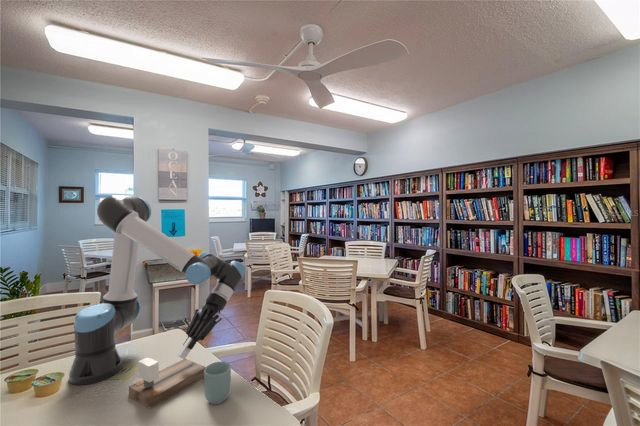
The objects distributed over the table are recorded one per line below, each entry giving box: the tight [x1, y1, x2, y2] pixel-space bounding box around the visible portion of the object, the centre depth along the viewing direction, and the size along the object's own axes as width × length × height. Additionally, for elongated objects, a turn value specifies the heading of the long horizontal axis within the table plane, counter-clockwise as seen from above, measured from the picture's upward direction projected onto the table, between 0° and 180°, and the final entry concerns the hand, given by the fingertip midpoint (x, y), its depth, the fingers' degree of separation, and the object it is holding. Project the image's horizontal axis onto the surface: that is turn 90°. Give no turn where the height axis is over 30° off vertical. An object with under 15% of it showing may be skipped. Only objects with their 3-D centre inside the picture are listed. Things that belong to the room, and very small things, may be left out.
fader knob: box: [137, 357, 160, 388], centre depth 94 cm, size 6×3×8 cm, turn 59°
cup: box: [203, 361, 232, 405], centre depth 92 cm, size 8×8×10 cm
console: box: [128, 358, 207, 409], centre depth 100 cm, size 12×20×3 cm, turn 149°
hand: (181, 357), depth 104 cm, fingers closed
